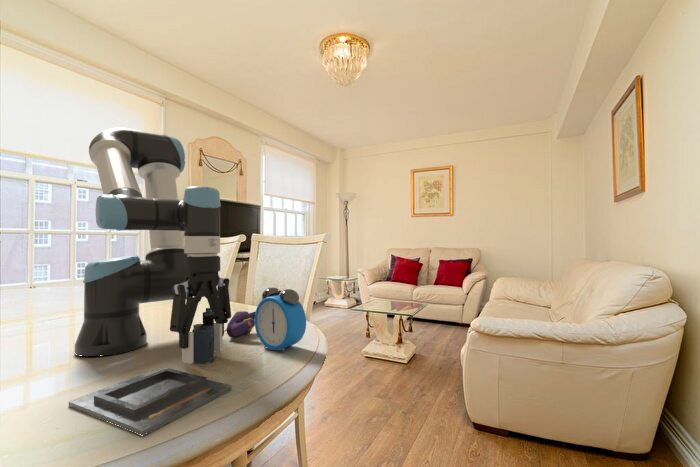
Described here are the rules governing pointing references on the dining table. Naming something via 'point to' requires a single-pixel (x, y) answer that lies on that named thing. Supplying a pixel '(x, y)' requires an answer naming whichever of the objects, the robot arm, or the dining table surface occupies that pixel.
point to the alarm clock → (280, 319)
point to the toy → (241, 324)
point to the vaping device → (204, 339)
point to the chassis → (150, 399)
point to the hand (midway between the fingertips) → (203, 356)
